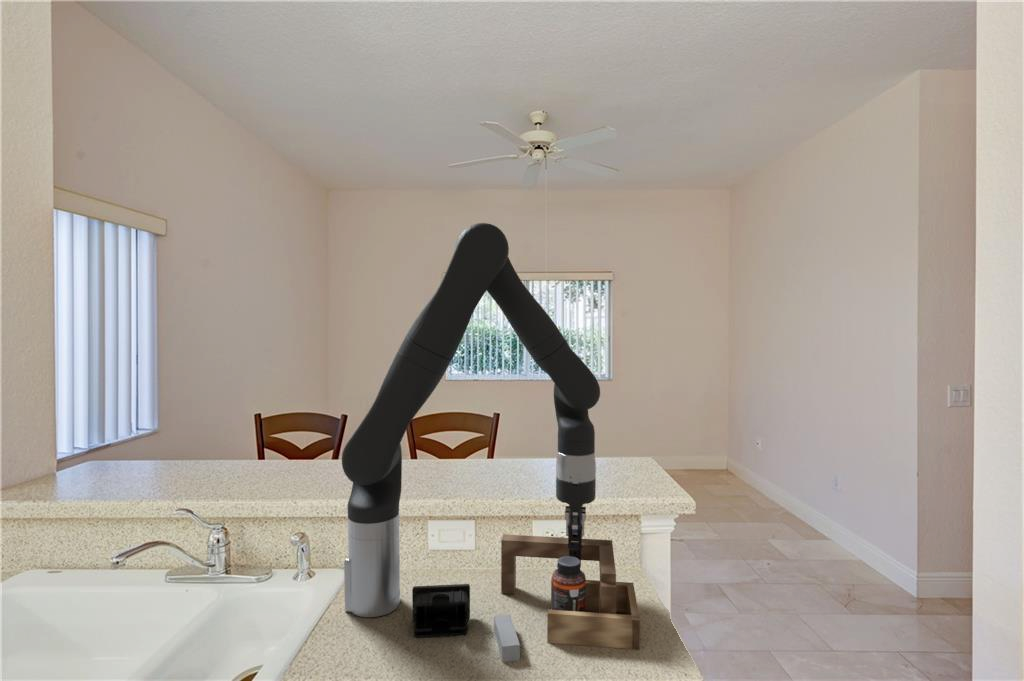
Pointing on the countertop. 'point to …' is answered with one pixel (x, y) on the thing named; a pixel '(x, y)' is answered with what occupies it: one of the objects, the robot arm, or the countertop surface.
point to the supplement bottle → (568, 586)
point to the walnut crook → (558, 549)
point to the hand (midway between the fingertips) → (575, 562)
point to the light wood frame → (598, 621)
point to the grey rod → (506, 638)
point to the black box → (441, 610)
